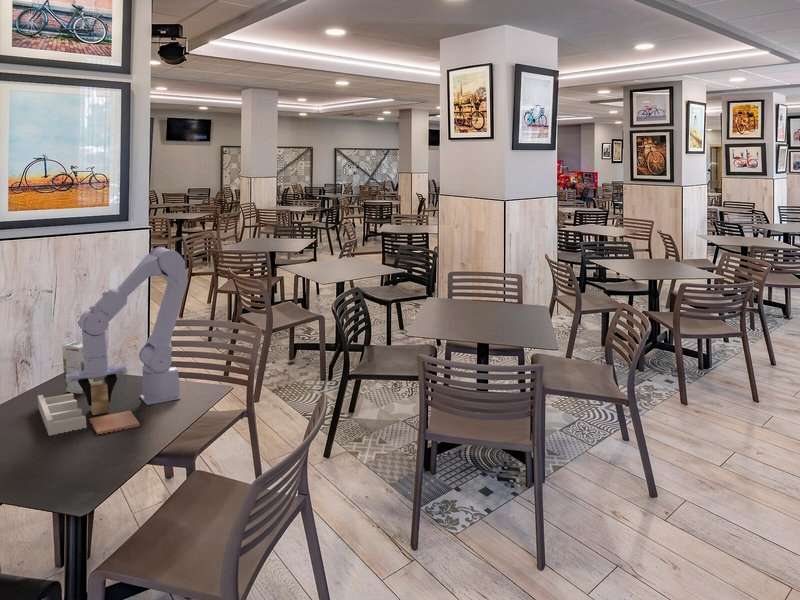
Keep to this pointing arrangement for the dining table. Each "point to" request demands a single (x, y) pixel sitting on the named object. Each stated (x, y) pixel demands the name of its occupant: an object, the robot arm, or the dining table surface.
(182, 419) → the dining table surface
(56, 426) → the slot rack
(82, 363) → the white carton
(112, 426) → the terracotta tile
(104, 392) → the block
